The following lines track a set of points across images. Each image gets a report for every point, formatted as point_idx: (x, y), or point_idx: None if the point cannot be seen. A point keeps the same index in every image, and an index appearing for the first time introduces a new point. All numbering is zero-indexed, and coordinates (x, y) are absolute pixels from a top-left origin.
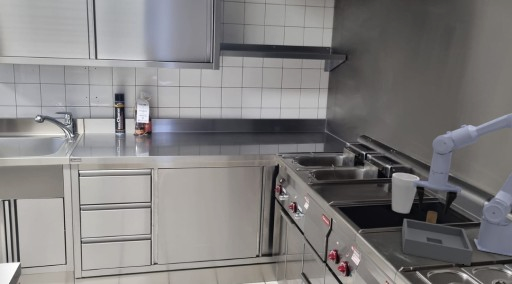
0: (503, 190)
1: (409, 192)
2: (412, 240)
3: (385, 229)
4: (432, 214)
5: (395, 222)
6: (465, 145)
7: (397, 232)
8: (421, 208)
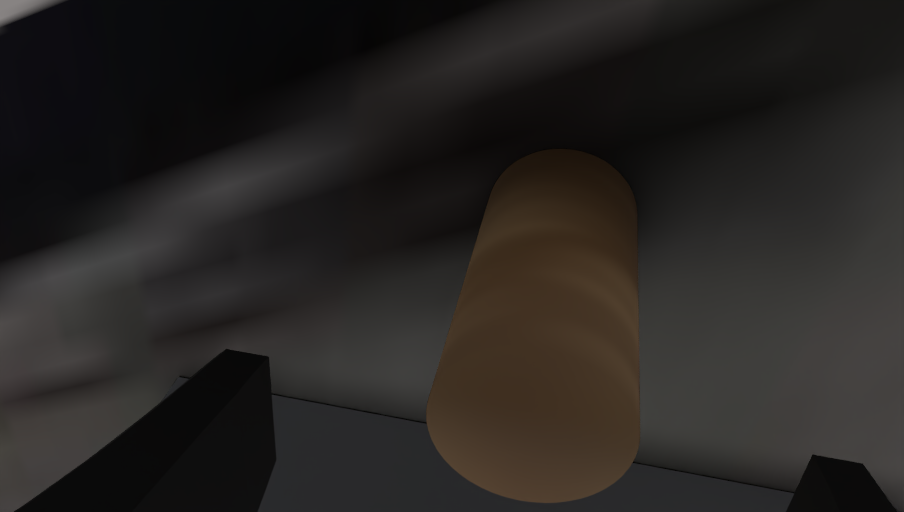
0: None
1: None
2: None
3: (3, 360)
4: (514, 488)
5: (49, 92)
6: None
7: (137, 405)
8: (255, 494)
